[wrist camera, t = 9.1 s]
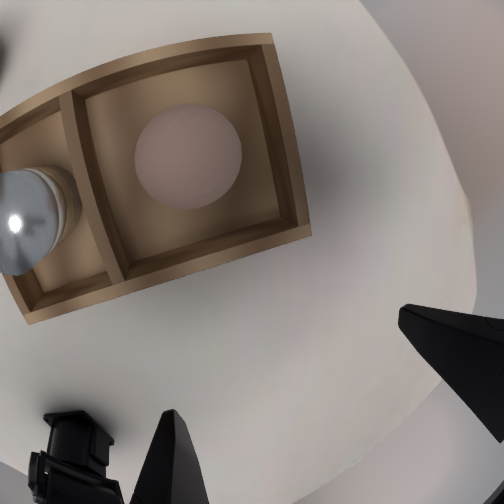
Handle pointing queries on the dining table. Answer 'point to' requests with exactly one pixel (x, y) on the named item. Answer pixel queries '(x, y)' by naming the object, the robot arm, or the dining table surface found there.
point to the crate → (126, 180)
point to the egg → (188, 156)
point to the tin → (35, 215)
